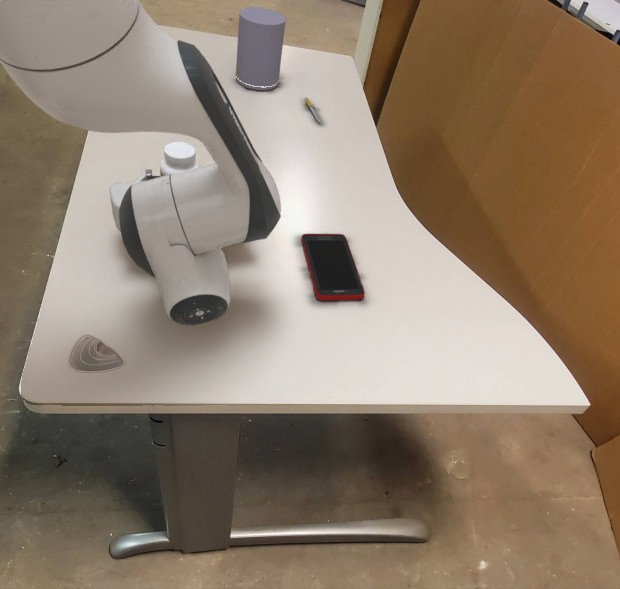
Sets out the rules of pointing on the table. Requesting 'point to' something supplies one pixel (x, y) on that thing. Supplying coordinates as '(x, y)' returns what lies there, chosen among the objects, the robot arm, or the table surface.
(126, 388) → the table surface
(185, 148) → the pill bottle
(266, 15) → the container
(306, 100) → the dagger
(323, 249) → the cell phone
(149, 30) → the robot arm
